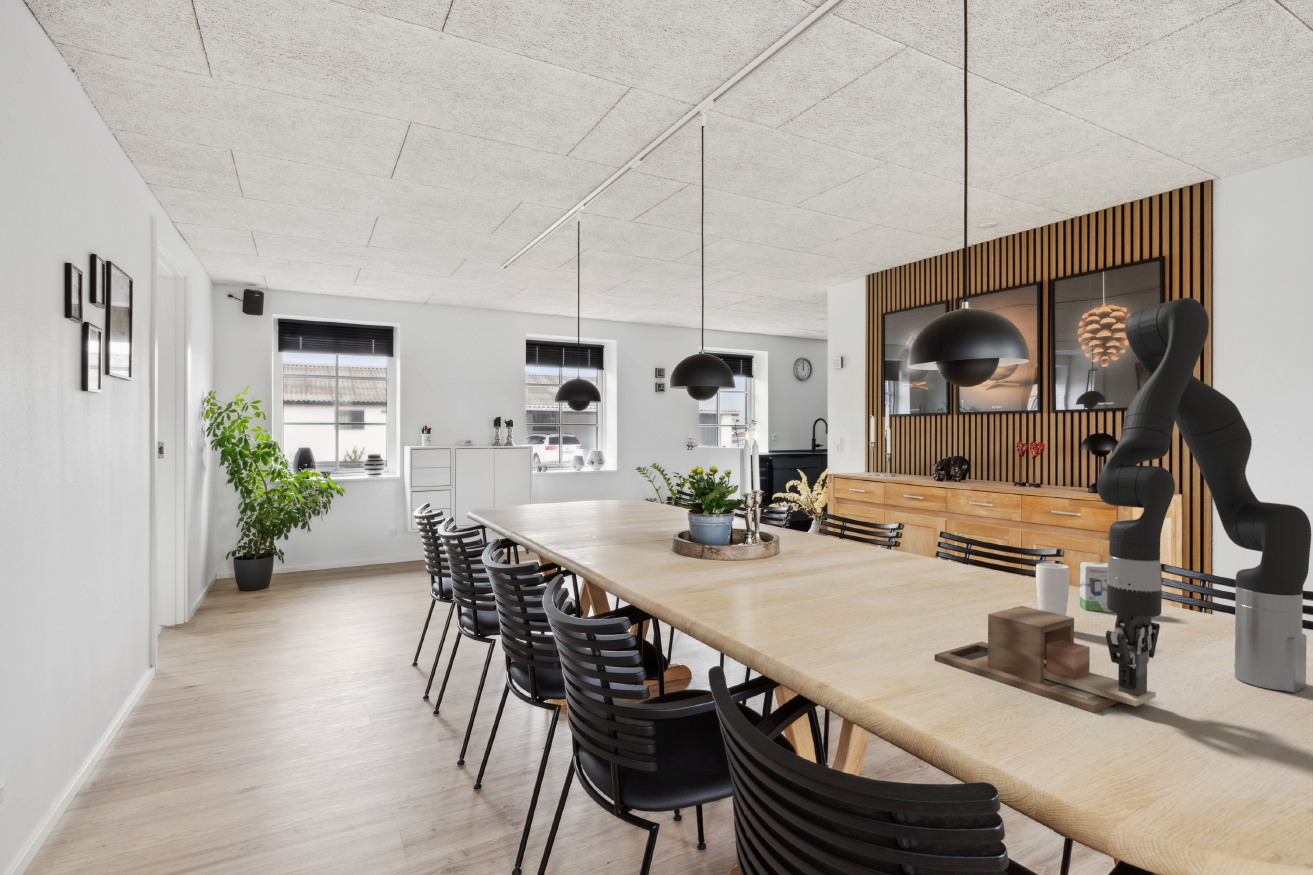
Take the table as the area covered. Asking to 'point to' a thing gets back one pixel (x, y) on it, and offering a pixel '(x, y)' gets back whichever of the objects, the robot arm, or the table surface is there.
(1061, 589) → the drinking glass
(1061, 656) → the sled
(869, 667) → the table surface
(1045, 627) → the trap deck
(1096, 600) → the ink box
